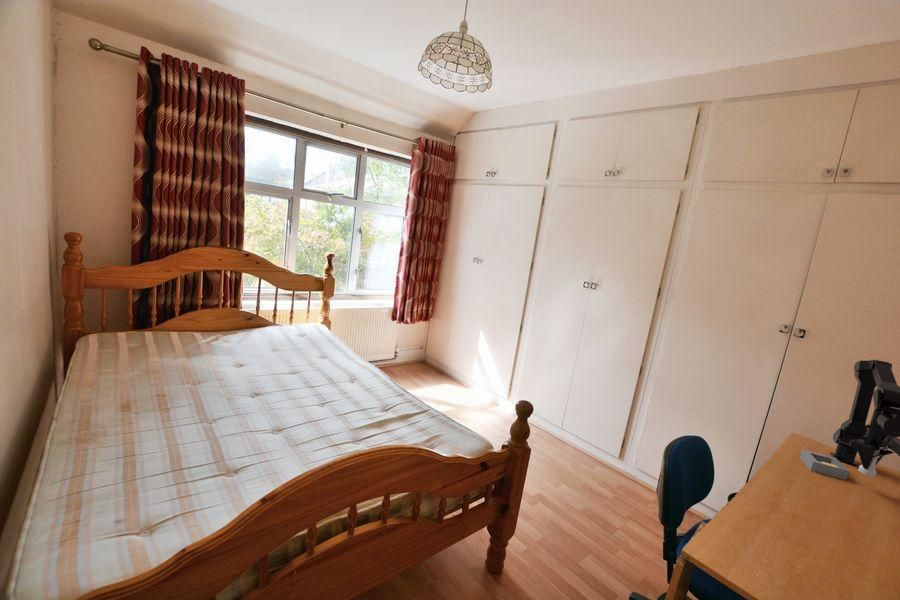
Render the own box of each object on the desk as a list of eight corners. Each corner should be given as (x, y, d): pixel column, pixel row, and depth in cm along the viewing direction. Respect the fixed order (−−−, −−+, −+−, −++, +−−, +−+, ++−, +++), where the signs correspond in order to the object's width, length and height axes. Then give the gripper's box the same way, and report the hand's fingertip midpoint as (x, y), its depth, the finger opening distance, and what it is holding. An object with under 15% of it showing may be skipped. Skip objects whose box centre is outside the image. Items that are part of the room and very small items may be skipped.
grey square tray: (799, 457, 153) (802, 448, 153) (832, 466, 149) (835, 457, 149) (810, 470, 144) (813, 461, 144) (846, 480, 140) (849, 470, 140)
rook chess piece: (854, 470, 136) (861, 449, 135) (860, 468, 138) (867, 447, 137) (872, 478, 133) (879, 456, 131) (878, 476, 134) (885, 454, 133)
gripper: (901, 440, 122) (886, 486, 124) (931, 435, 129) (915, 479, 131) (855, 422, 132) (841, 465, 134) (884, 419, 139) (871, 460, 141)
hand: (868, 468), depth 135 cm, fingers closed on rook chess piece, 3 cm apart
